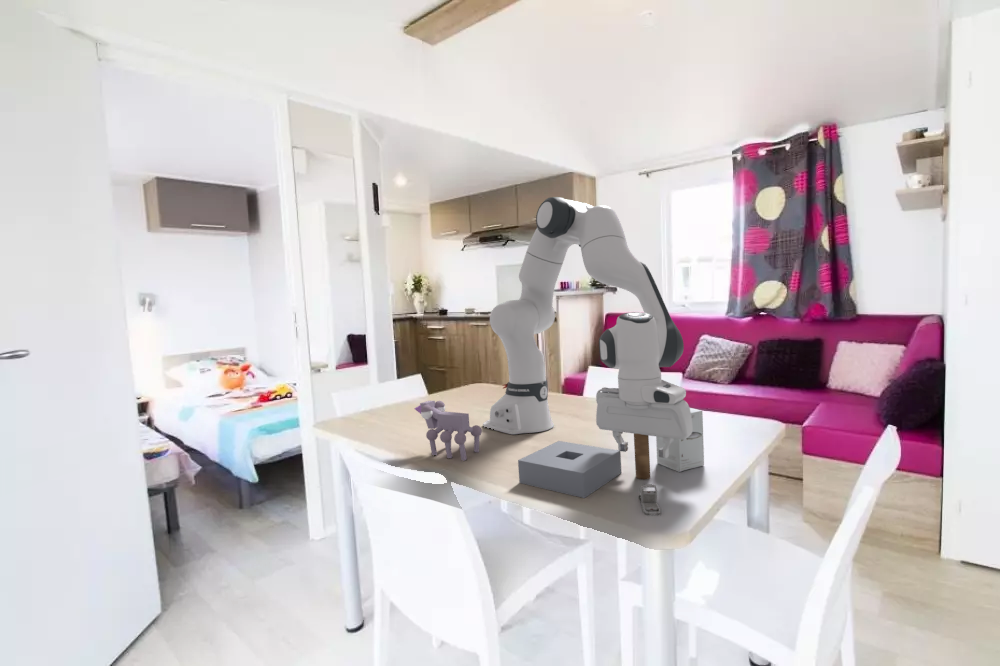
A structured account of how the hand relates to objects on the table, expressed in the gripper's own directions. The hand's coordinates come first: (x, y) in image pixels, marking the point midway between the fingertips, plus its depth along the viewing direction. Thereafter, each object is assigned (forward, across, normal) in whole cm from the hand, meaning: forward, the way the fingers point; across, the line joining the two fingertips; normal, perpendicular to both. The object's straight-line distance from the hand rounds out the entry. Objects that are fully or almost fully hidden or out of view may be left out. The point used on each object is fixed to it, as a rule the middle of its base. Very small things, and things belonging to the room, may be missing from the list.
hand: (643, 453), depth 107 cm
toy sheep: (+5, -52, -8) cm, 53 cm away
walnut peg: (+5, 0, 0) cm, 5 cm away
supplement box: (+5, +4, +11) cm, 13 cm away
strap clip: (+5, +6, -13) cm, 15 cm away
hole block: (+5, -13, -8) cm, 16 cm away
